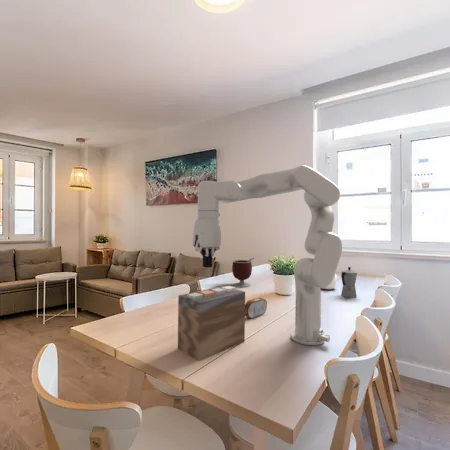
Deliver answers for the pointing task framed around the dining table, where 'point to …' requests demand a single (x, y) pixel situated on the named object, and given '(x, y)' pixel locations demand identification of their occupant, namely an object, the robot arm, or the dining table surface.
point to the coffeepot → (348, 283)
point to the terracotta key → (207, 293)
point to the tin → (255, 307)
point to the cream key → (229, 288)
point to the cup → (332, 283)
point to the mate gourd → (242, 271)
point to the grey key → (218, 290)
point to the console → (211, 323)
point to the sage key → (194, 296)
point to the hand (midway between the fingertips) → (207, 266)
